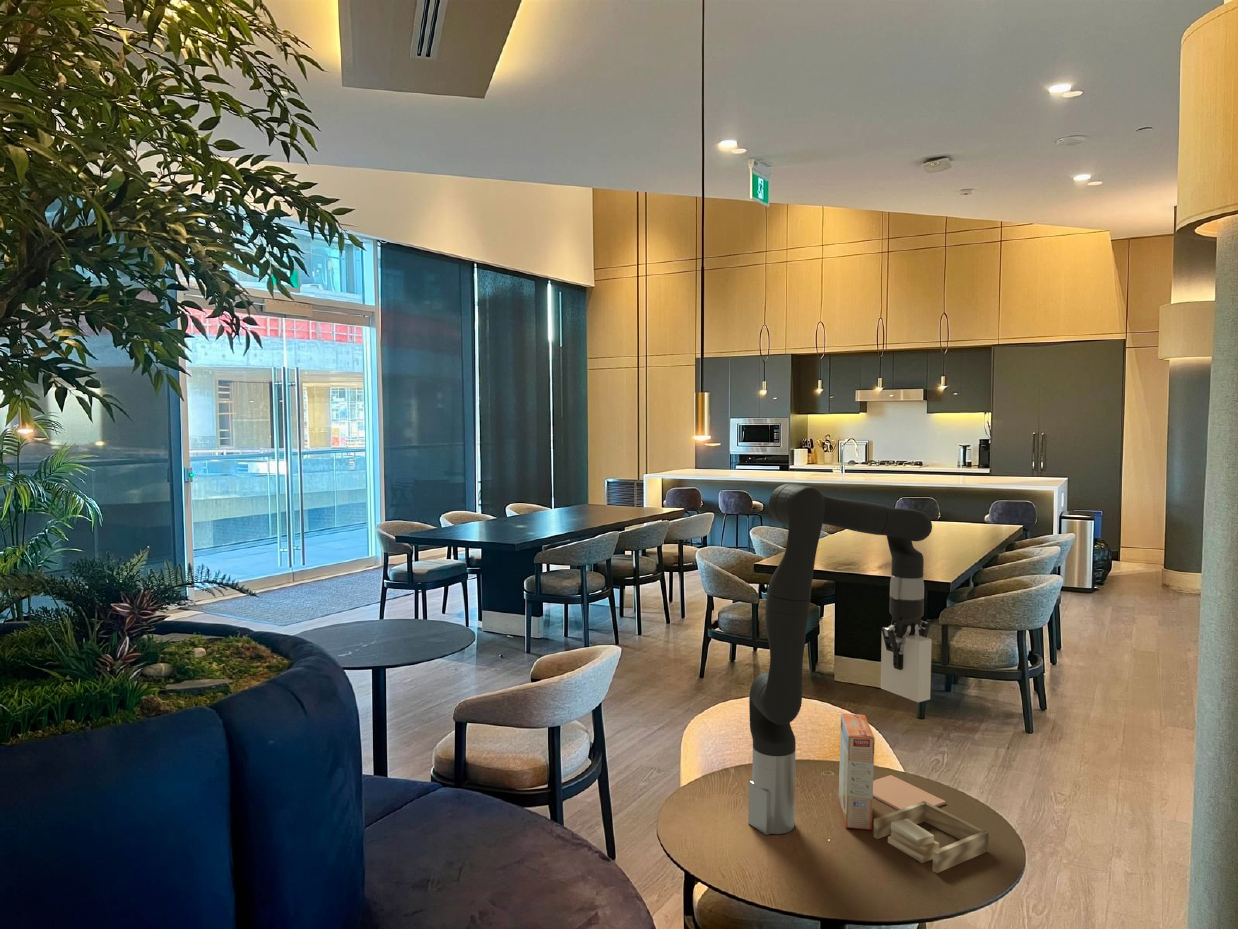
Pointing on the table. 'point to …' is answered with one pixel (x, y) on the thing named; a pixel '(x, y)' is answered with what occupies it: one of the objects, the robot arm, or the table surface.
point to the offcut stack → (913, 840)
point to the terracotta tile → (901, 793)
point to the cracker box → (856, 771)
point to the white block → (908, 669)
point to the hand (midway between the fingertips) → (905, 667)
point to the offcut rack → (950, 855)
